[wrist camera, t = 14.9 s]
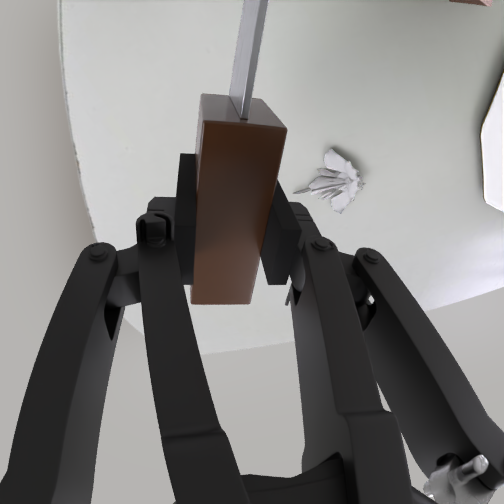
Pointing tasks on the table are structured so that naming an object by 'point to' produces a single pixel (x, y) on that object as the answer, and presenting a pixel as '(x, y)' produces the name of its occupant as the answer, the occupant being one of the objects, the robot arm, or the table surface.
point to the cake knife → (235, 175)
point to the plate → (494, 150)
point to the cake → (475, 2)
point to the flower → (337, 181)
